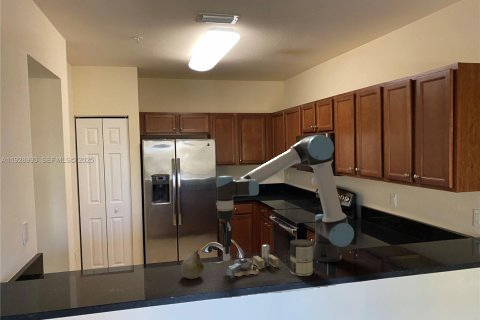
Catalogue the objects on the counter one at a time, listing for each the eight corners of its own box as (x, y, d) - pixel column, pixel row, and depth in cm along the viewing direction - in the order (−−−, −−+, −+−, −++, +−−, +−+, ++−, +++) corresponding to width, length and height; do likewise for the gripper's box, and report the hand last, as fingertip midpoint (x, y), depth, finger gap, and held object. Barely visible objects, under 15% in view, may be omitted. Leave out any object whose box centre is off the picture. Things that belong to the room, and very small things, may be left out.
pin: (260, 265, 173) (260, 244, 173) (267, 264, 174) (267, 244, 174) (263, 267, 169) (263, 246, 169) (270, 266, 171) (270, 246, 170)
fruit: (207, 276, 157) (207, 249, 157) (194, 283, 149) (194, 254, 149) (189, 272, 162) (189, 246, 162) (176, 278, 154) (176, 251, 154)
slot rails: (271, 262, 177) (271, 254, 177) (278, 267, 170) (278, 258, 169) (253, 264, 174) (253, 256, 174) (259, 269, 166) (259, 261, 166)
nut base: (250, 266, 171) (250, 260, 171) (258, 273, 160) (258, 267, 160) (228, 269, 167) (228, 262, 167) (235, 276, 157) (235, 270, 157)
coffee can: (286, 272, 162) (285, 242, 161) (297, 267, 170) (297, 238, 169) (306, 277, 155) (306, 246, 155) (316, 271, 163) (316, 241, 163)
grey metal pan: (240, 263, 169) (240, 256, 169) (254, 266, 165) (254, 258, 165) (221, 274, 155) (221, 265, 155) (237, 277, 151) (237, 268, 151)
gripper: (213, 208, 167) (214, 257, 168) (221, 212, 155) (222, 265, 156) (228, 206, 170) (229, 255, 170) (237, 210, 158) (238, 263, 158)
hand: (226, 260), depth 163 cm, fingers closed
